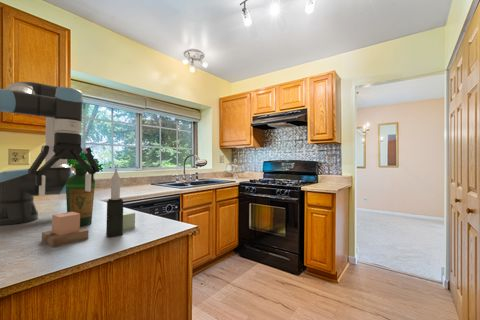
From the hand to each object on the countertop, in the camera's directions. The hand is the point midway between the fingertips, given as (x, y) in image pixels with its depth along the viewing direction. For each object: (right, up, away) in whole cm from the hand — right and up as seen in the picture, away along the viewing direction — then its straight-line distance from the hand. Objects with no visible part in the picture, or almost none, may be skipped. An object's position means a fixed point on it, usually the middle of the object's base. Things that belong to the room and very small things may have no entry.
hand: (66, 193), depth 78 cm
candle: (+14, -17, +6) cm, 22 cm away
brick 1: (0, -13, -1) cm, 13 cm away
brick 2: (+12, -17, +16) cm, 26 cm away
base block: (0, -16, 0) cm, 16 cm away
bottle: (-8, -17, +18) cm, 26 cm away
